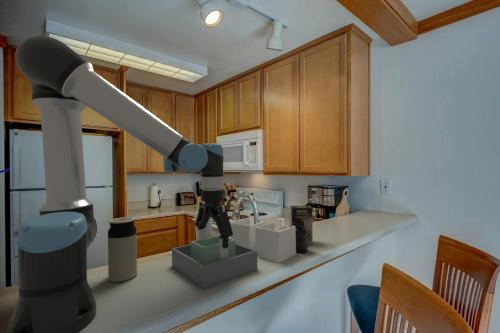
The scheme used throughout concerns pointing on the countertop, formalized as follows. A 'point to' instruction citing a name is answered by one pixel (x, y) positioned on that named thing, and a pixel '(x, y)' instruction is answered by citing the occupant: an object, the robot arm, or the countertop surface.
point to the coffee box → (306, 216)
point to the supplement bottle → (300, 236)
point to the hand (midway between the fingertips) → (212, 252)
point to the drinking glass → (208, 229)
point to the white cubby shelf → (265, 239)
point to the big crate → (214, 265)
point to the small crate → (210, 250)
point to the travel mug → (122, 249)
